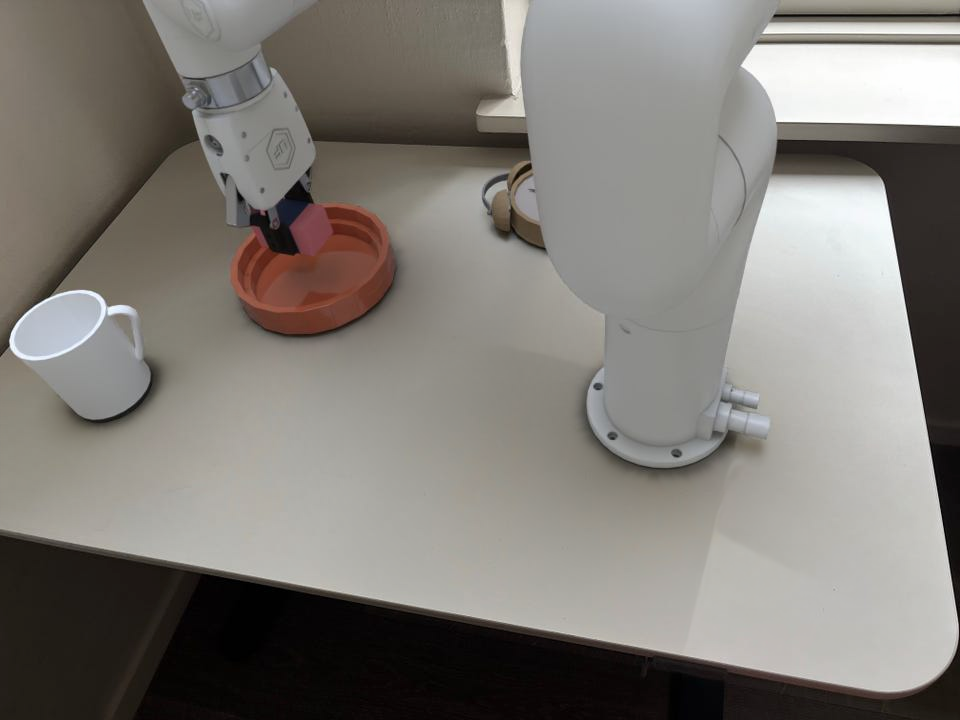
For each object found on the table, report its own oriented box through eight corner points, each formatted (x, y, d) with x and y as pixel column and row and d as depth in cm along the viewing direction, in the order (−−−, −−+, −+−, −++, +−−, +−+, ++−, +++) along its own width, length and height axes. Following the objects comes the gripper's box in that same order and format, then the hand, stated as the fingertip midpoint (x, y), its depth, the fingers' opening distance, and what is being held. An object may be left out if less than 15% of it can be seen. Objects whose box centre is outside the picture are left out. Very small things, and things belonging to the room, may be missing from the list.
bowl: (422, 243, 83) (415, 216, 80) (347, 353, 74) (336, 327, 70) (297, 219, 89) (287, 193, 86) (213, 318, 80) (198, 292, 77)
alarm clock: (594, 239, 76) (464, 196, 79) (586, 271, 80) (464, 229, 83) (625, 176, 82) (504, 139, 85) (616, 209, 86) (501, 172, 89)
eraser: (334, 232, 77) (323, 204, 74) (314, 257, 75) (302, 229, 72) (281, 223, 80) (269, 195, 77) (260, 246, 77) (247, 219, 75)
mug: (72, 439, 71) (7, 374, 63) (71, 376, 76) (11, 310, 69) (181, 398, 72) (130, 330, 65) (172, 340, 78) (125, 271, 70)
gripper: (202, 133, 57) (282, 297, 71) (312, 33, 67) (364, 195, 80) (133, 125, 60) (223, 284, 74) (248, 29, 69) (309, 186, 83)
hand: (296, 236), depth 77 cm, fingers closed on eraser, 4 cm apart
